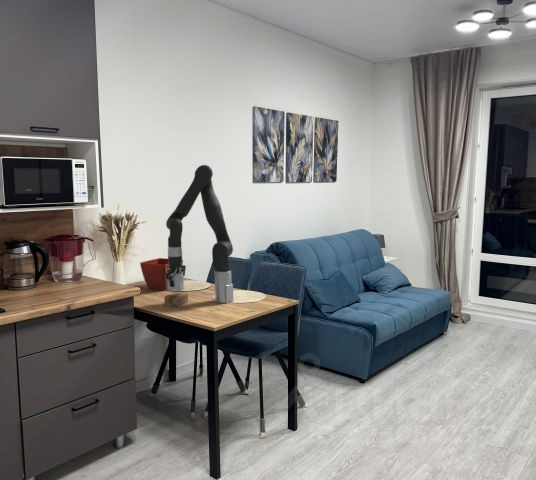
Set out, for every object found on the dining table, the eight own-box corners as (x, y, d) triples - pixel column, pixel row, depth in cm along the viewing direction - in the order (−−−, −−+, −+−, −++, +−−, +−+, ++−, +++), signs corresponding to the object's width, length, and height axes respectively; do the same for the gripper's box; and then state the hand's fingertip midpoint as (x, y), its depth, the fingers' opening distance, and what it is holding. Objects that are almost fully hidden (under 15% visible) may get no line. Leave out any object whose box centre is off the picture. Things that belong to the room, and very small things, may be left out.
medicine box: (184, 289, 265) (184, 274, 264) (180, 291, 261) (180, 275, 260) (171, 288, 267) (170, 273, 266) (167, 290, 263) (166, 274, 262)
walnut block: (188, 303, 267) (187, 294, 266) (178, 307, 259) (178, 298, 258) (174, 301, 271) (174, 292, 270) (164, 305, 262) (164, 296, 262)
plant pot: (160, 283, 315) (159, 257, 313) (184, 286, 306) (183, 259, 304) (140, 289, 298) (139, 262, 296) (165, 292, 289) (164, 264, 287)
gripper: (170, 257, 253) (171, 289, 256) (189, 253, 265) (190, 284, 268) (160, 256, 257) (161, 287, 260) (179, 252, 269) (180, 282, 272)
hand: (175, 285), depth 264 cm, fingers closed on medicine box, 5 cm apart
